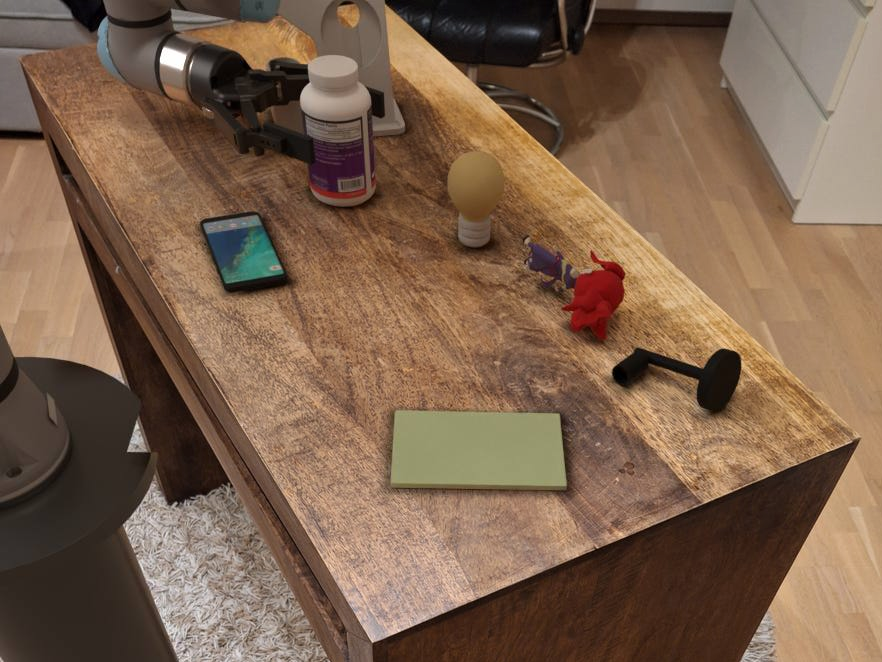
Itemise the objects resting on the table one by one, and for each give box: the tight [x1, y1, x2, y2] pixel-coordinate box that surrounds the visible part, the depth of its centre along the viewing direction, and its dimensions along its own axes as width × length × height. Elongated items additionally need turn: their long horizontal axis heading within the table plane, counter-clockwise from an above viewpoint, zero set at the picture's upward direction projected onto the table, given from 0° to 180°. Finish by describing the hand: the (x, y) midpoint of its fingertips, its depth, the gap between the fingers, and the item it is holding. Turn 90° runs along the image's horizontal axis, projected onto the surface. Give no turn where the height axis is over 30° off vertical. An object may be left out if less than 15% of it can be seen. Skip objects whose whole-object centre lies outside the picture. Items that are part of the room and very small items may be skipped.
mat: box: [390, 409, 568, 491], centre depth 85 cm, size 16×10×1 cm, turn 91°
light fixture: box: [588, 346, 743, 413], centre depth 89 cm, size 6×11×13 cm
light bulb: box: [446, 150, 506, 248], centre depth 102 cm, size 6×6×10 cm
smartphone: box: [199, 210, 289, 294], centre depth 102 cm, size 7×1×15 cm
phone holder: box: [265, 0, 406, 137], centre depth 115 cm, size 17×10×18 cm, turn 104°
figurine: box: [522, 234, 627, 341], centre depth 96 cm, size 6×8×15 cm
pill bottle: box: [300, 55, 377, 208], centre depth 105 cm, size 8×8×14 cm
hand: (349, 127), depth 104 cm, fingers open, 13 cm apart
